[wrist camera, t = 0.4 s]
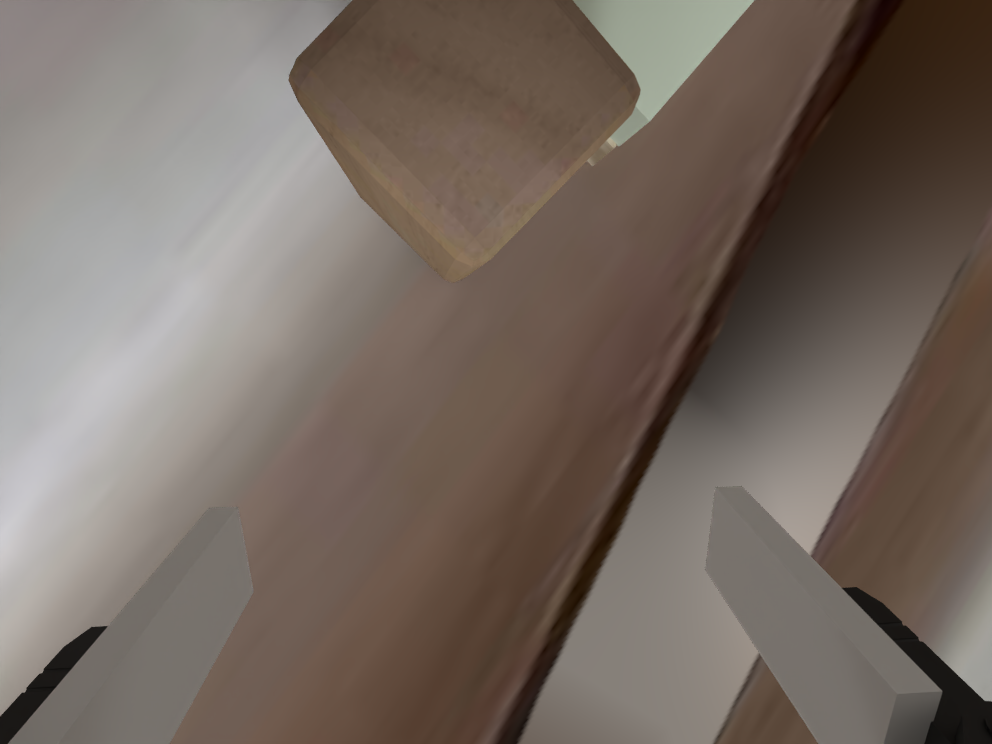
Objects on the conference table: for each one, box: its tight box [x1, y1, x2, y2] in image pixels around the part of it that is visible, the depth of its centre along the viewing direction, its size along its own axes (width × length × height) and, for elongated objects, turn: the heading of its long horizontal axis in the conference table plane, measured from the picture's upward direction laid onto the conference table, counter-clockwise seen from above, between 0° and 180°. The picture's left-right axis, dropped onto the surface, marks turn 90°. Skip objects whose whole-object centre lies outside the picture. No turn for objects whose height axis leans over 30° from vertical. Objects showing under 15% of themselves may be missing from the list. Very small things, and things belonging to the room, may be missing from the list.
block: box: [289, 0, 641, 283], centre depth 29 cm, size 10×10×20 cm
